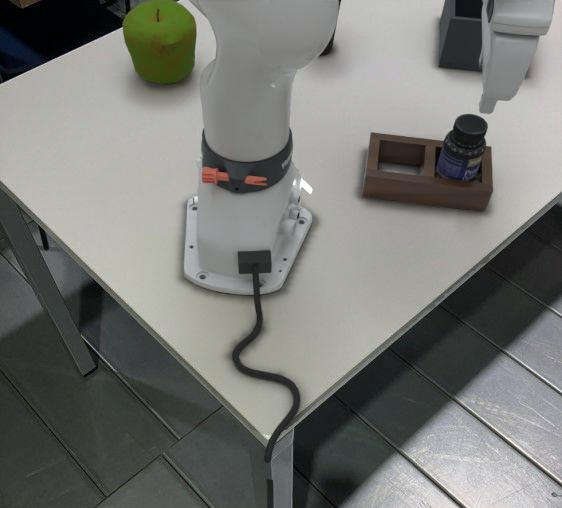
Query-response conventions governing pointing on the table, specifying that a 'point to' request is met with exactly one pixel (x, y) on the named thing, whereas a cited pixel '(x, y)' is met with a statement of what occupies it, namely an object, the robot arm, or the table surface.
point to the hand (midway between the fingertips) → (484, 88)
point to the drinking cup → (330, 44)
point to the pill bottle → (463, 149)
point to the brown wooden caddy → (423, 174)
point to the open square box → (461, 34)
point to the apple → (161, 40)
